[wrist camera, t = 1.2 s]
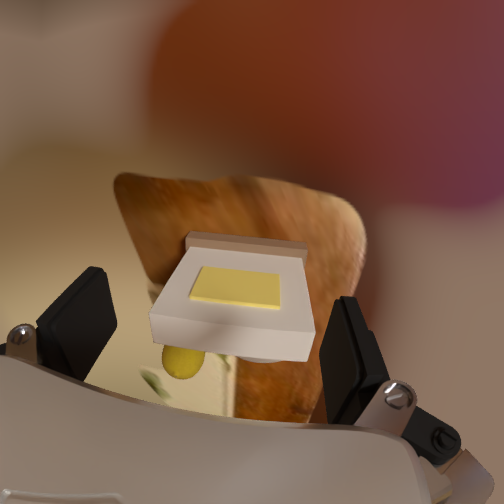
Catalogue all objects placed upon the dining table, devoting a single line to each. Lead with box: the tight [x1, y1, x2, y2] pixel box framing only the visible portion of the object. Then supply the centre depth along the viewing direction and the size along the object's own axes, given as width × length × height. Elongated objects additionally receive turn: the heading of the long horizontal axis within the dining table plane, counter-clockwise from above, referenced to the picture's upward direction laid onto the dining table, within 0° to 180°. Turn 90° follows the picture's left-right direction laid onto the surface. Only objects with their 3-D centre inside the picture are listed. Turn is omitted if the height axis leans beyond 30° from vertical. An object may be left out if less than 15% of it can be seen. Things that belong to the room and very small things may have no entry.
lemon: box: [162, 345, 205, 379], centre depth 35 cm, size 6×6×8 cm
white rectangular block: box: [149, 231, 315, 362], centre depth 26 cm, size 5×13×14 cm, turn 85°
